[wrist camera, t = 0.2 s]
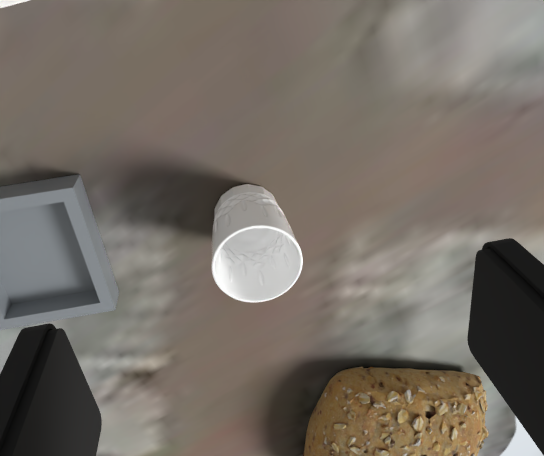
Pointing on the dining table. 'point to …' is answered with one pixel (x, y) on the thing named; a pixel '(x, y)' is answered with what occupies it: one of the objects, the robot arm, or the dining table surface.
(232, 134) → the dining table surface
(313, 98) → the dining table surface
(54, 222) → the tray
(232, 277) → the white cup
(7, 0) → the milk
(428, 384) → the bread
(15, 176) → the dining table surface
